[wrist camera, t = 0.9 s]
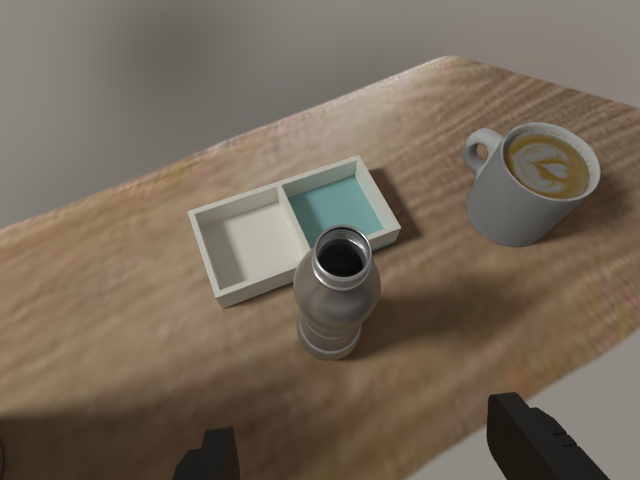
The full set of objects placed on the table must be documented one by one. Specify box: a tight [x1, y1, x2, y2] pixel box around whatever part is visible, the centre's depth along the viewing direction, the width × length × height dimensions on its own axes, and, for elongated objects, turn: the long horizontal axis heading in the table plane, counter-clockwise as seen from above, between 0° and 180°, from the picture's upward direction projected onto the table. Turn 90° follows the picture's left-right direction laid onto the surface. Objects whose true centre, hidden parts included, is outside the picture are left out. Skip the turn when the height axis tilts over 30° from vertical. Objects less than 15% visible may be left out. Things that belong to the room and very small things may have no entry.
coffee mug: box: [462, 123, 600, 247], centre depth 46 cm, size 13×10×10 cm
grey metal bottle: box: [293, 225, 381, 361], centre depth 33 cm, size 6×7×20 cm
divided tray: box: [188, 155, 401, 309], centre depth 46 cm, size 21×11×4 cm, turn 113°
